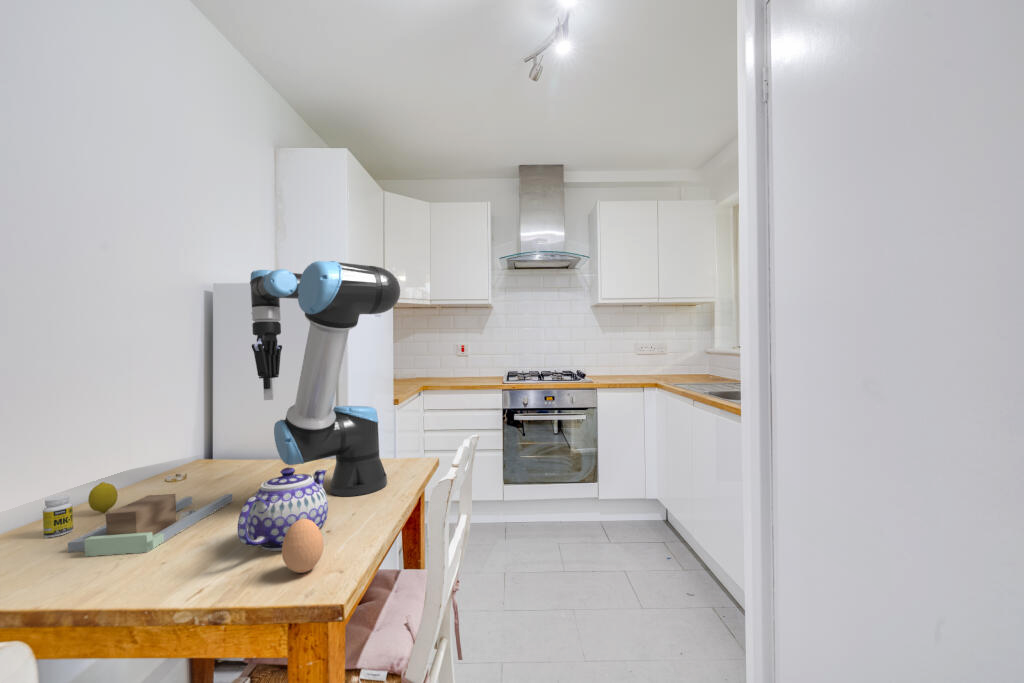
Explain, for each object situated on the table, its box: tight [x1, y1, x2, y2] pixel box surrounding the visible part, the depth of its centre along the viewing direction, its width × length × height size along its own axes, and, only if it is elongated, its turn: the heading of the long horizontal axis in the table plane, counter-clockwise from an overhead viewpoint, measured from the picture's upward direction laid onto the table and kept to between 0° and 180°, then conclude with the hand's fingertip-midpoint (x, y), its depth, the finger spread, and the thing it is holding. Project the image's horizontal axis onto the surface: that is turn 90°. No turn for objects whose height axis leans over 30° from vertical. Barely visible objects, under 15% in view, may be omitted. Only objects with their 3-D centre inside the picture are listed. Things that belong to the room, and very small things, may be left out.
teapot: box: [237, 467, 329, 552], centre depth 91 cm, size 25×15×15 cm, turn 166°
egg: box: [281, 519, 324, 574], centre depth 77 cm, size 7×7×9 cm
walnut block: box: [105, 493, 178, 535], centre depth 95 cm, size 11×6×8 cm, turn 2°
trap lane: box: [67, 493, 234, 557], centre depth 103 cm, size 30×18×4 cm, turn 3°
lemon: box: [88, 481, 118, 514], centre depth 114 cm, size 6×6×8 cm
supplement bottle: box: [42, 494, 74, 539], centre depth 101 cm, size 5×5×8 cm
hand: (269, 399), depth 132 cm, fingers closed
